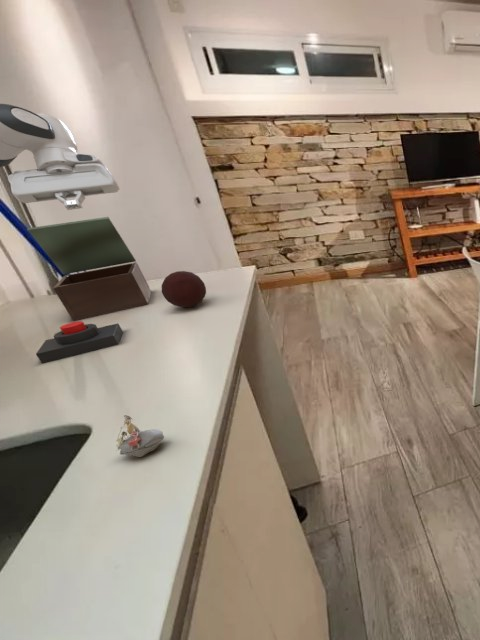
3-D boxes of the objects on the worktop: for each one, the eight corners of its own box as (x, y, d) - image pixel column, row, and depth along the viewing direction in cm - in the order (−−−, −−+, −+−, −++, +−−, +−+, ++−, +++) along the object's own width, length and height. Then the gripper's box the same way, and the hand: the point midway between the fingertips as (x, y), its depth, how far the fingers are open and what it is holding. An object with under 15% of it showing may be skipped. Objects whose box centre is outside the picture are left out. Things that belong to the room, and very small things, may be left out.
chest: (148, 304, 127) (131, 272, 123) (73, 320, 119) (52, 287, 116) (151, 291, 137) (136, 262, 133) (82, 306, 129) (64, 275, 126)
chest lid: (108, 218, 122) (108, 216, 123) (27, 230, 114) (27, 228, 115) (136, 261, 133) (135, 259, 133) (63, 274, 125) (63, 272, 126)
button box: (41, 363, 98) (30, 346, 96) (51, 348, 104) (40, 332, 102) (118, 344, 104) (109, 327, 102) (123, 331, 111) (114, 316, 109)
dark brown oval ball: (208, 295, 130) (193, 263, 126) (215, 306, 122) (200, 271, 118) (169, 305, 125) (152, 272, 121) (173, 317, 117) (155, 281, 113)
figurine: (172, 437, 71) (152, 403, 68) (164, 453, 67) (143, 419, 65) (127, 449, 69) (105, 416, 66) (116, 467, 65) (93, 432, 62)
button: (62, 337, 100) (58, 329, 99) (66, 332, 103) (61, 324, 102) (85, 331, 102) (81, 324, 101) (88, 326, 105) (84, 319, 104)
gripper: (-2, 164, 122) (11, 206, 119) (104, 154, 133) (118, 193, 130) (13, 180, 127) (26, 222, 124) (114, 170, 138) (127, 208, 135)
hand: (74, 207), depth 127 cm, fingers closed
